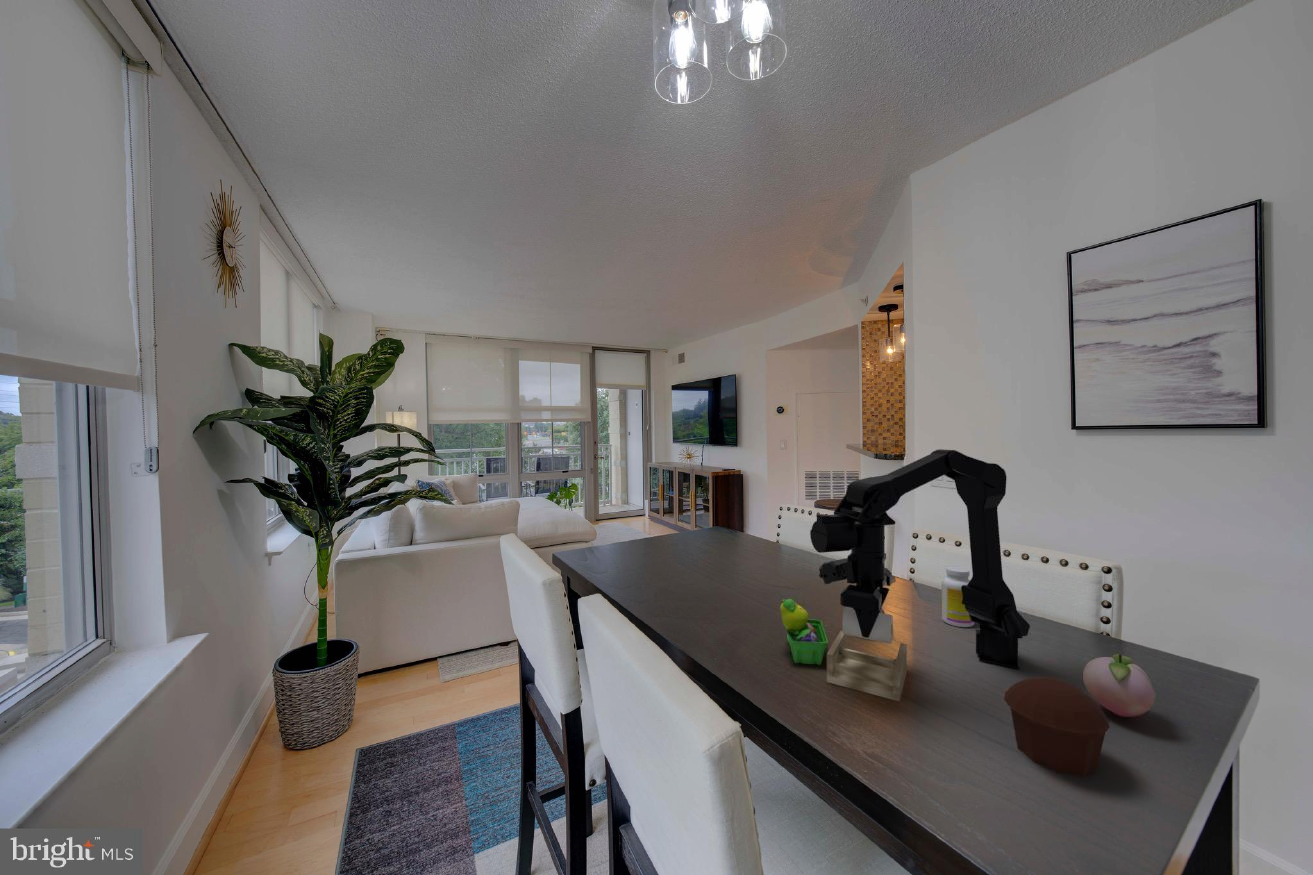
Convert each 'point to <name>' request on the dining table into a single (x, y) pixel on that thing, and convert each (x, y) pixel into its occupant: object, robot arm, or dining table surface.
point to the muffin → (1057, 725)
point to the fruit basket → (803, 634)
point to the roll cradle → (866, 670)
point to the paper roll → (879, 632)
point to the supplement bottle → (955, 597)
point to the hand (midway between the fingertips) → (867, 631)
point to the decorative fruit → (1119, 685)
